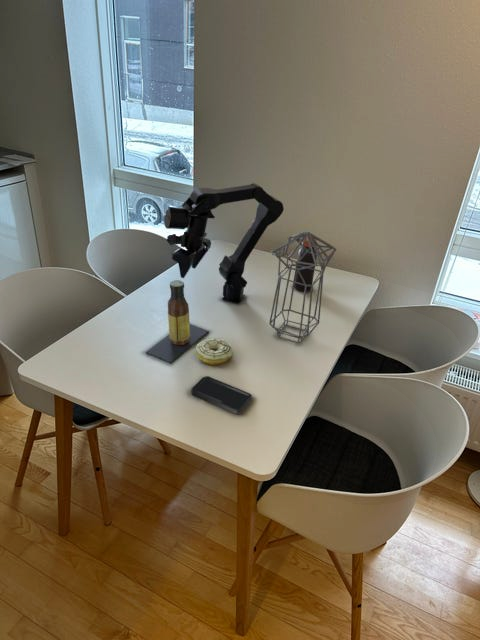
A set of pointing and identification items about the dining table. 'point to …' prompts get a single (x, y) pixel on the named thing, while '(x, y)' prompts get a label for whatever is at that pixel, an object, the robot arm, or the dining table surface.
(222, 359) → the decorated donut
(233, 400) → the phone
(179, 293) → the sauce bottle
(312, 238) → the geometric lantern
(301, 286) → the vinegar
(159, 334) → the dining table surface
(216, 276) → the dining table surface
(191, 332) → the mat
